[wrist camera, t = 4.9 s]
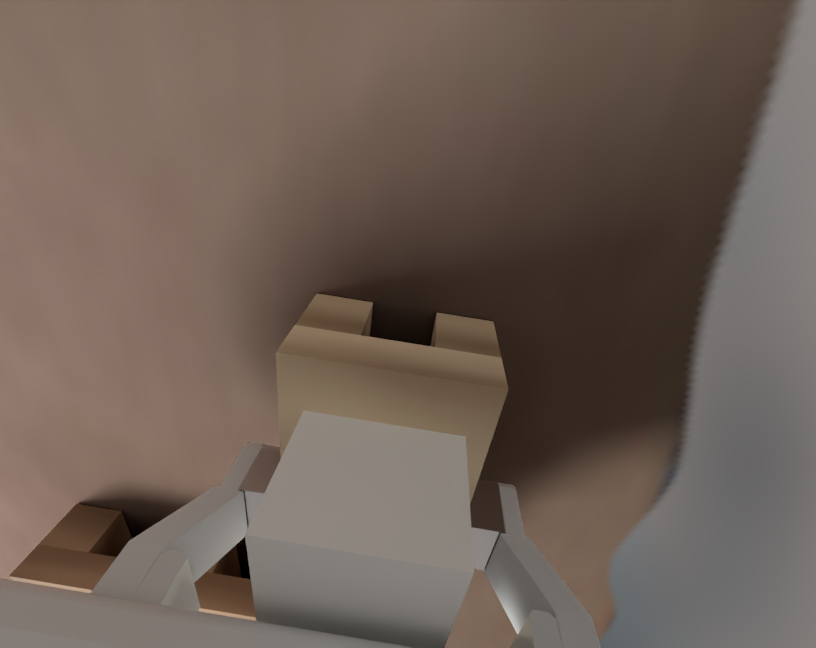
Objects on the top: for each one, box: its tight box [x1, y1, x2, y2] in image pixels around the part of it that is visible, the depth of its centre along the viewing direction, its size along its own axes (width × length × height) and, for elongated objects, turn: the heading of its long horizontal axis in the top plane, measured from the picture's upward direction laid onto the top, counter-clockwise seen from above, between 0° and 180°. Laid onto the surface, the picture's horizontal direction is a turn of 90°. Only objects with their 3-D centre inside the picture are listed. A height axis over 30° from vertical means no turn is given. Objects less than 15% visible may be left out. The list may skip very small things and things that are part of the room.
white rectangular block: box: [245, 410, 474, 648], centre depth 9 cm, size 7×4×3 cm, turn 173°
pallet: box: [276, 294, 509, 503], centre depth 12 cm, size 10×5×3 cm, turn 173°
